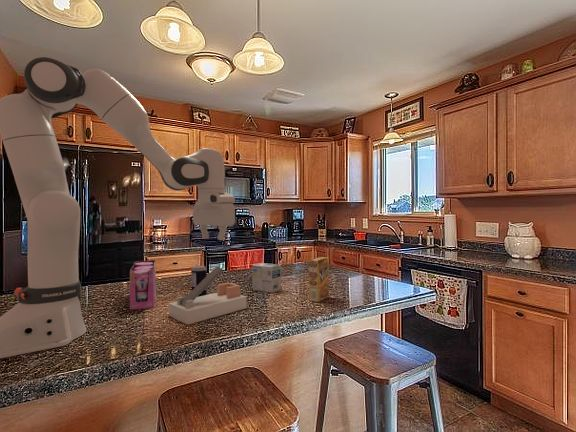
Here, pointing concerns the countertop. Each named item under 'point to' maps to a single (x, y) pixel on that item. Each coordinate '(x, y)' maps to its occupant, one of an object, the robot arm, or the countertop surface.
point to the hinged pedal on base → (209, 304)
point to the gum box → (142, 284)
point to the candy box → (318, 279)
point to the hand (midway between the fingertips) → (213, 239)
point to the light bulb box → (266, 277)
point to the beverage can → (198, 277)
